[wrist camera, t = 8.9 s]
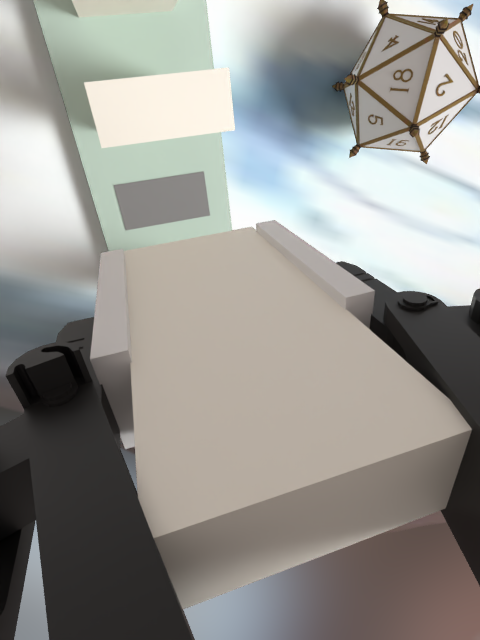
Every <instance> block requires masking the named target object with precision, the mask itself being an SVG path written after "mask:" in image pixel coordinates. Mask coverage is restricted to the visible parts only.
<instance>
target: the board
mask: <svg viewBox="0 0 480 640" xmlns="http://www.w3.org/2000/svg"><path fill="white" fill-rule="evenodd" d="M33 1H34V5H35V8H36V11H37V15H38V18H39V21H40V25H41V28H42V31H43V35H44V38H45V41H46V45H47V48H48V51H49V55H50V58H51V61H52V65H53V68H54V71H55V75H56V78H57V81H58V85H59V88H60V91H61V95H62V98H63V101H64V105H65V108H66V111H67V115H68V118H69V121H70V125H71V128H72V131H73V135H74V138H75V141H76V144H77V148H78V151H79V154H80V158H81V161H82V164H83V168H84V171H85V174H86V178H87V181H88V184H89V188H90V191H91V194H92V198H93V201H94V204H95V208H96V211H97V214H98V218H99V221H100V224H101V228H102V231H103V234H104V238H105V241H106V244H107V248H108V251H113V250H119V249H123V251H126V250H132V249H137V248H142V247H147V246H153V245H158V244H163V243H169V242H174V241H179V240H184V239H190V238H195V237H200V236H206V235H211V234H216V233H221V232H227V231H232V225H231V216H230V207H229V199H228V190H227V181H226V172H225V163H224V154H223V146H222V137H221V132H218V133H211V134H203V135H196V136H189V137H181V138H174V139H167V140H159V141H152V142H145V143H137V144H130V145H123V146H115V147H108V148H101V144H100V140H99V137H98V133H97V129H96V126H95V122H94V118H93V114H92V111H91V107H90V103H89V100H88V96H87V92H86V89H85V85H84V82H93V81H103V80H112V79H122V78H132V77H142V76H151V75H161V74H171V73H181V72H190V71H200V70H210V69H214V66H213V57H212V48H211V40H210V31H209V22H208V13H207V4H206V0H178V1H177V3H176V5H175V7H174V9H173V10H172V11H166V12H152V13H137V14H123V15H108V16H94V17H79V16H78V14H77V12H76V9H75V7H74V5H73V2H72V0H33Z"/></svg>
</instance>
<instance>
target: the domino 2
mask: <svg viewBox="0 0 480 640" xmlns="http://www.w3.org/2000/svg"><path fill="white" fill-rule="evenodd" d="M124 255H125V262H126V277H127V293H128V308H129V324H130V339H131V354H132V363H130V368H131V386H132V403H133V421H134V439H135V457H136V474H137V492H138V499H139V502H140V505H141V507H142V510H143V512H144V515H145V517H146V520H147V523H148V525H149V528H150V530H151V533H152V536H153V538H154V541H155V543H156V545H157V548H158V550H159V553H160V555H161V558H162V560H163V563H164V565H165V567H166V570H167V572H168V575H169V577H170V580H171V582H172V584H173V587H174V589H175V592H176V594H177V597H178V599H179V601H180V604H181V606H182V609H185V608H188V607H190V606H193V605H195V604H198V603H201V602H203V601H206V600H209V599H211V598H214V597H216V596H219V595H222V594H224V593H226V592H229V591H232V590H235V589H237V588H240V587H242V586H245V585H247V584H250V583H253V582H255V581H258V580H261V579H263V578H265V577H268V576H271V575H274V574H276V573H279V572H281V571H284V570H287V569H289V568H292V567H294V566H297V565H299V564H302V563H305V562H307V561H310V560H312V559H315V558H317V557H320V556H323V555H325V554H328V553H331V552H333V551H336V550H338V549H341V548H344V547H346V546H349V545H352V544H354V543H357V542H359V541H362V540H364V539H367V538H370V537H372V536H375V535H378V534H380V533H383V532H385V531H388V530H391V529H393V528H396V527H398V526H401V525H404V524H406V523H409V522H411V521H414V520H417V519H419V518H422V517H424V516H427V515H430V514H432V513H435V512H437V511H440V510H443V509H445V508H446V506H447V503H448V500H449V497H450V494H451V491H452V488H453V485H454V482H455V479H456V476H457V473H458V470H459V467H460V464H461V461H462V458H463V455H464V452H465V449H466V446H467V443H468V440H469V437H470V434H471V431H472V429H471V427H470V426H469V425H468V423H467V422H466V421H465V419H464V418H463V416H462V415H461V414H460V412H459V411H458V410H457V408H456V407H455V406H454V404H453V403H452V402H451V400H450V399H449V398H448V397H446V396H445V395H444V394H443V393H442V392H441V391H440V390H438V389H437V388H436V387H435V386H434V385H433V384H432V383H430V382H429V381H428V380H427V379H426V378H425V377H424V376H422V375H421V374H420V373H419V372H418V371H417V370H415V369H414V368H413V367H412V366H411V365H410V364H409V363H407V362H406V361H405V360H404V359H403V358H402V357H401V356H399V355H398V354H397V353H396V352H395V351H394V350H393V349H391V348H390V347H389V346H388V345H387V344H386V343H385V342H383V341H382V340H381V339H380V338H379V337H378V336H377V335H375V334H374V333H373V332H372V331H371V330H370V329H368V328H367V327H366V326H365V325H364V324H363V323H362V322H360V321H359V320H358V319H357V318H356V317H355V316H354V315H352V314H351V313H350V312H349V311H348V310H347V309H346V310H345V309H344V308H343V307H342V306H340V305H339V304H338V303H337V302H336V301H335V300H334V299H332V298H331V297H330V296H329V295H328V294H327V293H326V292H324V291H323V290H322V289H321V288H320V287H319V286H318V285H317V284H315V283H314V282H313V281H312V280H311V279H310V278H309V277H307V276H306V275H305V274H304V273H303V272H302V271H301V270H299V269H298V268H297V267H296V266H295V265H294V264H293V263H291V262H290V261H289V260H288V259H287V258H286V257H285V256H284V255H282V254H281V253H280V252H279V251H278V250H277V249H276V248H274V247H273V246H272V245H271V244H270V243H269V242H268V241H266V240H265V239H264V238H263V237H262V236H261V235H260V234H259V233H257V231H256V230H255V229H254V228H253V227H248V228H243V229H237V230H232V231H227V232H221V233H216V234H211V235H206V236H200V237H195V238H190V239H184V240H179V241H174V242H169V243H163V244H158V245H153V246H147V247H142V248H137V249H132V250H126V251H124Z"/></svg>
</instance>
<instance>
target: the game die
mask: <svg viewBox="0 0 480 640" xmlns="http://www.w3.org/2000/svg"><path fill="white" fill-rule="evenodd" d="M387 3H388V2H386V1H384V0H380V2H379V6H378V8H377V9H379V13H380V14H381V15H382V19H381V21H380V22H379V24H378V26H377V28H376V29H375V31H374V33H373V35H372V36H371V38H370V40H369V42H368V43H367V45H366V47H365V49H364V50H363V52H362V54H361V56H360V57H359V59H358V61H357V63H356V64H355V66H354V68H353V70H352V71H351V73H350V75H348V76H347V77H346V78H344V79H345V80H346V82H345V84H343V83H342V82H341V83H339V82H337V83H336V84H335V85H333V86H332V87H333V88H334V89H335V90H336V91H341V90H344V93H345V97H346V101H347V105H348V109H349V114H350V118H351V122H352V126H353V130H354V134H355V138H356V143H357V144H356V146H354V147H353V148H352V149H351V150H350V156H349V158H350V157H352V156H355V155H356V154H357V153H358V152H359V149H360V148H361V147H364V148H376V149H388V150H400V151H412V152H420V153H421V156H420V157H421V161H423V162H424V163H426V164H427V162H428V159H429V157H430V156H428V154H429V153H427V152H426V149H427V148H428V147H429V146H430V144H431V143H432V142H433V141H434V140H435V139H436V138H437V137H438V136H439V134H440V133H441V132H442V131H443V130H444V129H445V128H446V127H447V126H448V124H449V123H450V122H451V121H452V120H453V119H454V118H455V117H456V116H457V114H458V113H459V112H460V111H461V110H462V109H463V108H464V107H465V106H466V104H467V103H468V102H469V101H470V100H471V99H472V98H473V97H474V96H475V94H476V93H480V86H479V84H478V80H477V76H476V72H475V69H474V65H473V61H472V57H471V54H470V50H469V46H468V42H467V39H466V35H465V31H464V27H463V24H462V22H463V21H464V20H465V19H468V16H469V15H471V10H472V7H473V4H472V5H470V6H468V7H465V8H463V11H462V12H461V13H460V16H459V18H446V17H431V16H417V15H402V14H389V13H388V8H389V7H388V6H387Z"/></svg>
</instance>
